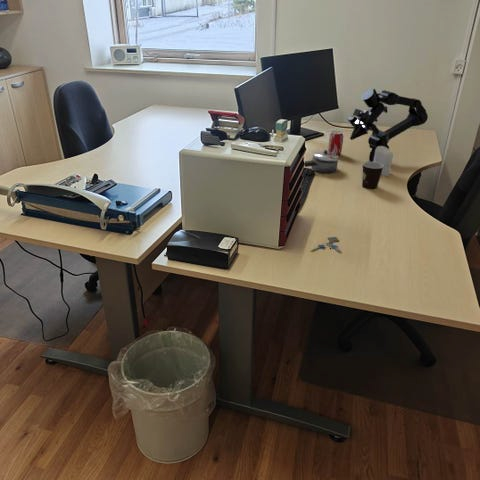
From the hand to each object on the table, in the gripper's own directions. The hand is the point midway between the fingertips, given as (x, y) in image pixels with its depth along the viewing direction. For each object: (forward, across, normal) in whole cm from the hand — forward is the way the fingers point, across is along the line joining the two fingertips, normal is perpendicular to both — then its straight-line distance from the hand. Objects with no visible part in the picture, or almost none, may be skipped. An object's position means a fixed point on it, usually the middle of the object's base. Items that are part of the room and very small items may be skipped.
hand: (350, 139), depth 211 cm
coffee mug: (+14, +25, +6) cm, 29 cm away
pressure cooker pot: (+21, 0, -3) cm, 21 cm away
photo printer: (+3, +13, +16) cm, 21 cm away
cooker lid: (+15, 0, -4) cm, 15 cm away
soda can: (+7, -17, +12) cm, 22 cm away
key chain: (+46, +65, -27) cm, 84 cm away
